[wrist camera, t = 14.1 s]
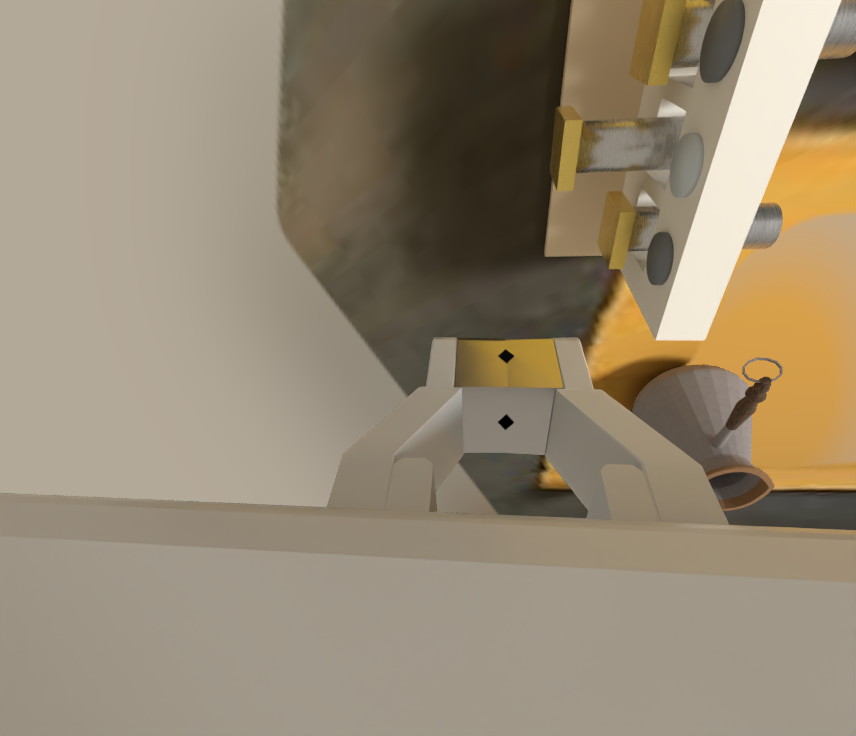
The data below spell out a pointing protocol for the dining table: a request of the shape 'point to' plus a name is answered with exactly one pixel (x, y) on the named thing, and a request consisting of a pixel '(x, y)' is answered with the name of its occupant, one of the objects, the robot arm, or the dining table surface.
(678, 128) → the middle rod
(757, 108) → the panel
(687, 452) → the coffee pot
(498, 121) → the dining table surface
